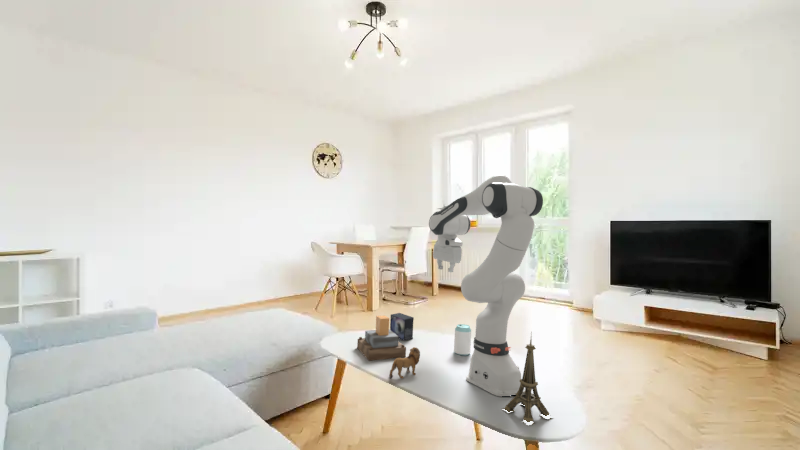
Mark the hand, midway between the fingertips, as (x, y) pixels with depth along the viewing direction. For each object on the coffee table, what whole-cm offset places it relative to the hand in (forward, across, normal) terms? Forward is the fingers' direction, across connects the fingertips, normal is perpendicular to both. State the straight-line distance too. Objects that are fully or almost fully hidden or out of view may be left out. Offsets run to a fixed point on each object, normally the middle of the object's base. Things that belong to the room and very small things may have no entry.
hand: (445, 270), depth 179 cm
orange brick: (+26, +4, -32) cm, 41 cm away
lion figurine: (+34, +28, -32) cm, 55 cm away
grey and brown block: (+34, +4, -32) cm, 47 cm away
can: (+34, +14, +2) cm, 37 cm away
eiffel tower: (+34, +66, -8) cm, 75 cm away
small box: (+34, -14, -15) cm, 40 cm away
